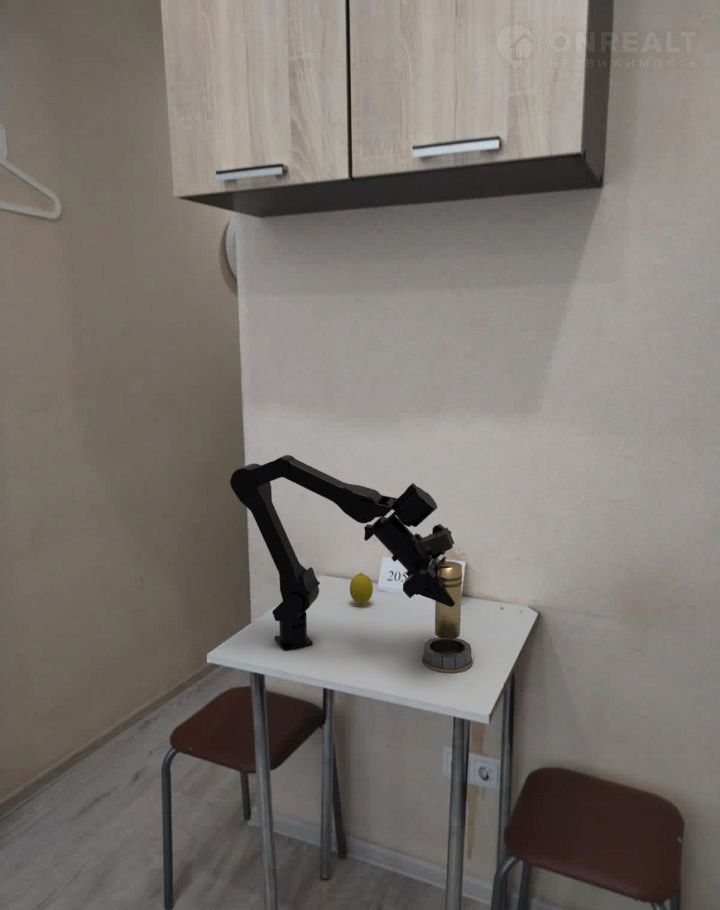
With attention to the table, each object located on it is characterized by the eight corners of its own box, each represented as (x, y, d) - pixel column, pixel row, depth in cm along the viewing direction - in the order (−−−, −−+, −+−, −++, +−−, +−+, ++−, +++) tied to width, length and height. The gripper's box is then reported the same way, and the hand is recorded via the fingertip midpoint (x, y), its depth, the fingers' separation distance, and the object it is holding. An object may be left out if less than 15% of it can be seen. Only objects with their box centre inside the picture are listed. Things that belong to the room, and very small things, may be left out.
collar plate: (412, 656, 134) (412, 653, 134) (453, 645, 139) (453, 643, 139) (439, 677, 125) (439, 675, 125) (483, 666, 130) (483, 663, 130)
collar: (415, 654, 134) (415, 642, 134) (453, 644, 138) (453, 633, 138) (440, 673, 126) (440, 661, 125) (480, 663, 130) (480, 651, 129)
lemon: (359, 598, 165) (359, 567, 164) (377, 603, 162) (377, 572, 160) (345, 605, 161) (344, 573, 160) (363, 610, 157) (362, 578, 156)
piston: (431, 628, 134) (432, 561, 132) (456, 627, 135) (458, 560, 133) (437, 639, 129) (439, 570, 127) (463, 638, 130) (465, 569, 128)
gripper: (421, 528, 120) (481, 592, 119) (436, 504, 138) (489, 560, 137) (378, 566, 124) (436, 629, 123) (399, 538, 141) (450, 593, 140)
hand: (455, 600), depth 131 cm, fingers closed on piston, 5 cm apart
